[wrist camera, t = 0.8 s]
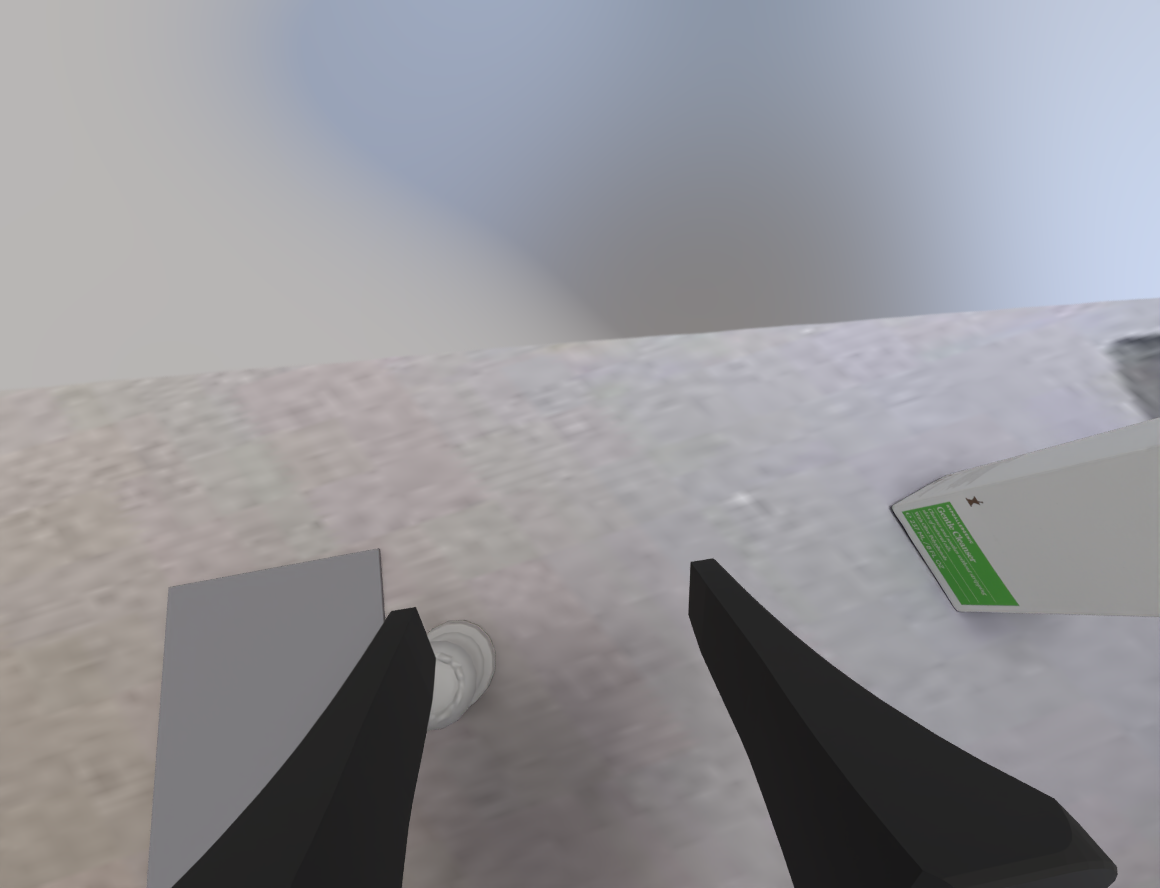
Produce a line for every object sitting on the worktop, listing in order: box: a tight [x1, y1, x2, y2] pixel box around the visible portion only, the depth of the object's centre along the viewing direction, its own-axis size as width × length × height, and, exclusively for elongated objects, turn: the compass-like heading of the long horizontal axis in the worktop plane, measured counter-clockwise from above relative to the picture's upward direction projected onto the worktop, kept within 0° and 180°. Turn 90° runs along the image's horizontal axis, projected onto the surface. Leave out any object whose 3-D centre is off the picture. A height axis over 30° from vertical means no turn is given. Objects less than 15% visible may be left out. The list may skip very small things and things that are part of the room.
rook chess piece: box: [427, 620, 495, 730], centre depth 21 cm, size 4×4×8 cm
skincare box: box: [892, 418, 1160, 617], centre depth 25 cm, size 8×7×16 cm
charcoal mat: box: [147, 548, 385, 888], centre depth 23 cm, size 14×10×1 cm
